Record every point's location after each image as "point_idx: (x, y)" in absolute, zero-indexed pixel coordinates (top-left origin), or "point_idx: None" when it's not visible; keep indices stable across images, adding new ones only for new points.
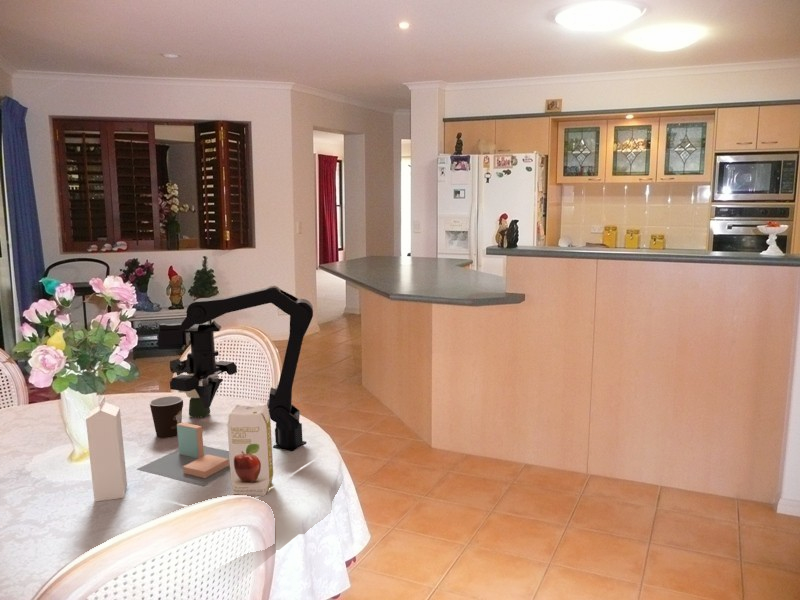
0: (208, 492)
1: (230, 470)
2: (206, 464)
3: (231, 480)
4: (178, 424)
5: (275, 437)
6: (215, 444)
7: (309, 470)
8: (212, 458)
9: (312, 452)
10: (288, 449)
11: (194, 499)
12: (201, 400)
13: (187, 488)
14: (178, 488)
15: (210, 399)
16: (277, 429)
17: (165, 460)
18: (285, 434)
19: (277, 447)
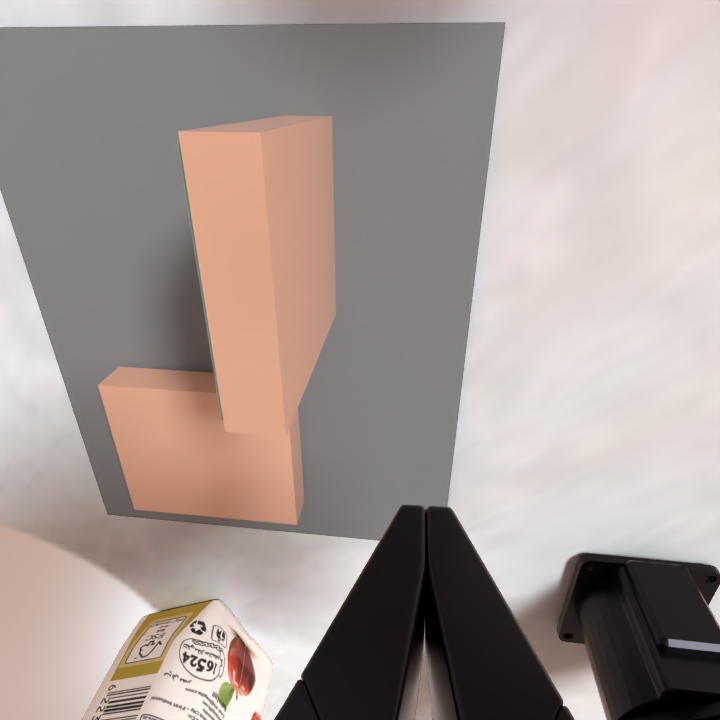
0: (103, 538)
1: (91, 703)
2: (189, 472)
3: (114, 661)
4: (188, 159)
5: (638, 592)
6: (562, 220)
7: (419, 711)
8: (259, 456)
9: (580, 681)
10: (564, 626)
11: (40, 527)
12: (346, 608)
13: (66, 458)
14: (40, 427)
15: (432, 713)
16: (647, 661)
17: (156, 113)
18: (599, 690)
19: (576, 583)
